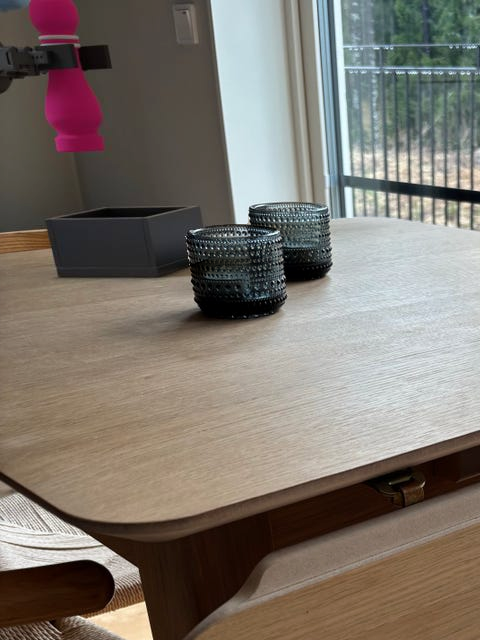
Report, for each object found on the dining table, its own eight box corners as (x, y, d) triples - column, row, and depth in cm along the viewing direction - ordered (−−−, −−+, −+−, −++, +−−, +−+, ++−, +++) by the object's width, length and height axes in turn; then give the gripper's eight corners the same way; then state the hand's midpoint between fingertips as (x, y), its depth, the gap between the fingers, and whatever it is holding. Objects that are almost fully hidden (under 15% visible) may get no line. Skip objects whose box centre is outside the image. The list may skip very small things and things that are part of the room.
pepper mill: (42, 153, 133) (3, -24, 123) (77, 150, 139) (42, -19, 129) (86, 152, 131) (50, -29, 121) (120, 149, 137) (87, -23, 127)
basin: (57, 276, 110) (44, 219, 107) (116, 260, 120) (105, 207, 117) (158, 277, 107) (147, 218, 104) (208, 259, 118) (200, 205, 115)
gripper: (32, 94, 146) (147, 88, 136) (-77, 96, 132) (42, 90, 122) (19, 35, 142) (136, 25, 132) (-95, 30, 128) (26, 19, 118)
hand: (91, 56), depth 127 cm, fingers closed on pepper mill, 5 cm apart
